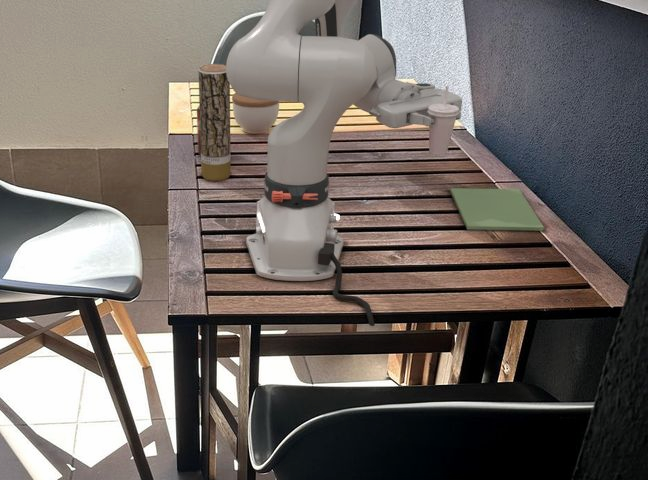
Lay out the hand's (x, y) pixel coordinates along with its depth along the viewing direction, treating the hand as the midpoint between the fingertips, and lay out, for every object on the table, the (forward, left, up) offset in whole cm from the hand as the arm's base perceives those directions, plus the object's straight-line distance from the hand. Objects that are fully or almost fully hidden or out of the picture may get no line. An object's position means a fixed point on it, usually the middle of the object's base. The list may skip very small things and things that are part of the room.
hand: (445, 119), depth 169 cm
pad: (-8, -11, -17) cm, 22 cm away
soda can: (+24, +51, -17) cm, 59 cm away
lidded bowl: (+44, +41, -17) cm, 62 cm away
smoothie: (+1, +1, -8) cm, 8 cm away
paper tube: (+9, +49, -17) cm, 53 cm away
